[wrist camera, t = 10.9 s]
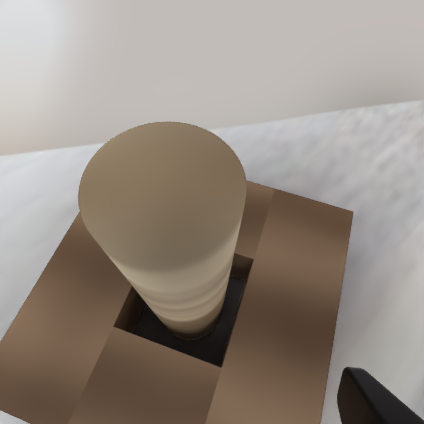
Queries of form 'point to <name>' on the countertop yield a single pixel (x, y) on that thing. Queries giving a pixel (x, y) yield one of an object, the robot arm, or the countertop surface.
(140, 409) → the hole block
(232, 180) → the peg
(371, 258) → the countertop surface
